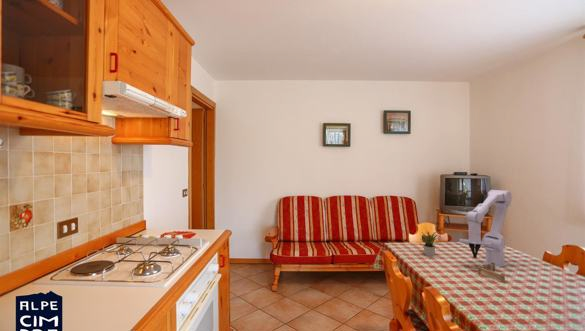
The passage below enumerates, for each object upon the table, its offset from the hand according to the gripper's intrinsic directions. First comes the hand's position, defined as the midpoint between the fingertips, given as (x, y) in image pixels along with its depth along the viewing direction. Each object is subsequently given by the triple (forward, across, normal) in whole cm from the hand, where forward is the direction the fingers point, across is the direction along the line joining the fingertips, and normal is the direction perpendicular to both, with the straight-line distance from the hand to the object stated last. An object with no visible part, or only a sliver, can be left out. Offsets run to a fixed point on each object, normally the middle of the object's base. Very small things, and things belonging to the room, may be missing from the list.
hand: (475, 257), depth 153 cm
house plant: (+7, -24, +12) cm, 28 cm away
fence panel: (+6, +6, -3) cm, 9 cm away
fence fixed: (+6, +7, -11) cm, 15 cm away
